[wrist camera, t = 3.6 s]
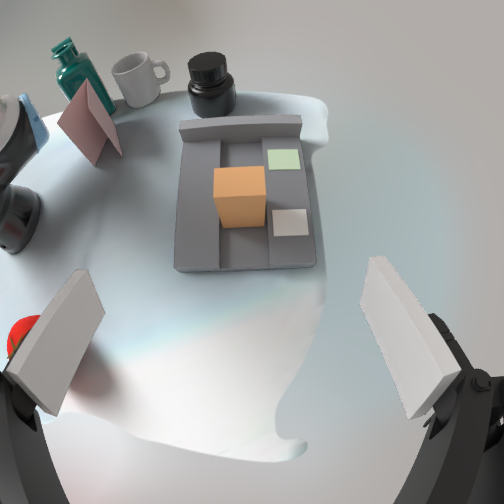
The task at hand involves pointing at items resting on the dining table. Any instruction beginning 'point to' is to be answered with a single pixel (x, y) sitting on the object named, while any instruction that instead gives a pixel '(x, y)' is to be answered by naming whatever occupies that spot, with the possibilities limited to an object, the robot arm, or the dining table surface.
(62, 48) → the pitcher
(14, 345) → the tomato
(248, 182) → the lever
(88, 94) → the greeting card
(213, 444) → the dining table surface
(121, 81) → the mug
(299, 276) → the dining table surface
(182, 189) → the breaker housing
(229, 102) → the ink bottle
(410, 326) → the robot arm
